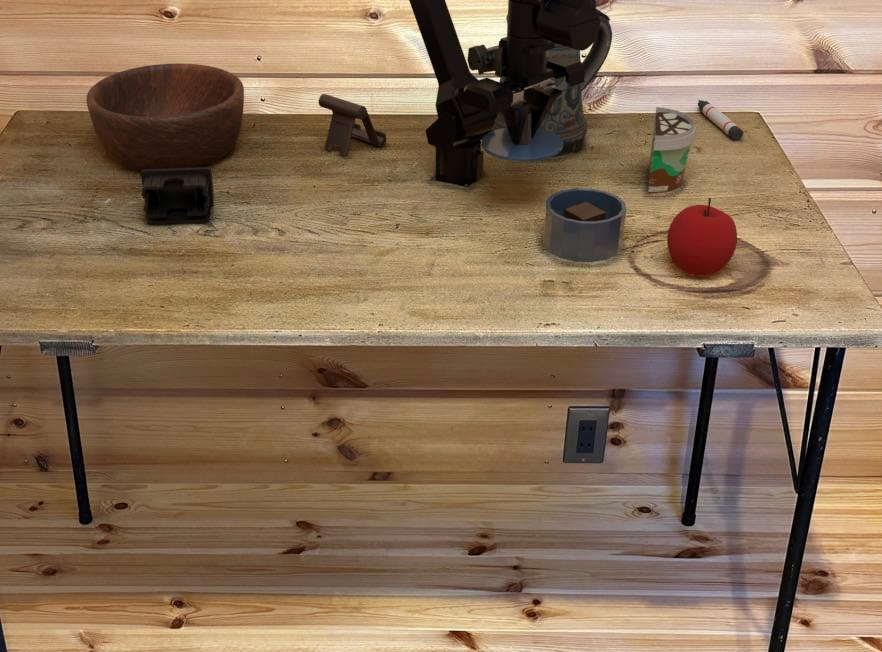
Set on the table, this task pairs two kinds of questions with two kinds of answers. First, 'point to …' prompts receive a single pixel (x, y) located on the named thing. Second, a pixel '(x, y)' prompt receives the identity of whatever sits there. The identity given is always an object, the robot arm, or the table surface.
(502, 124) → the beer stein
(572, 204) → the tin
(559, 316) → the table surface
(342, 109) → the tablet stand
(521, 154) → the lid
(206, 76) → the wooden bowl
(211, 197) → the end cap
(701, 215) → the apple
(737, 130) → the marker
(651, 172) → the food container
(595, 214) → the block
